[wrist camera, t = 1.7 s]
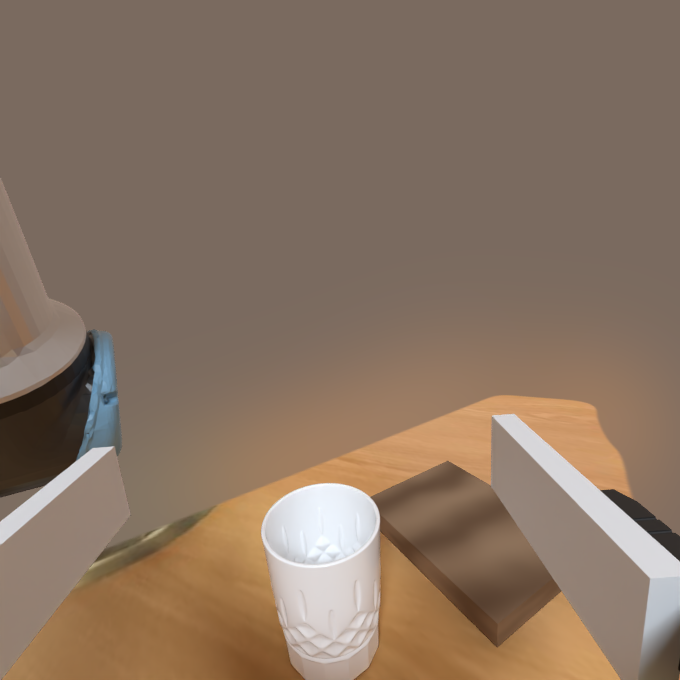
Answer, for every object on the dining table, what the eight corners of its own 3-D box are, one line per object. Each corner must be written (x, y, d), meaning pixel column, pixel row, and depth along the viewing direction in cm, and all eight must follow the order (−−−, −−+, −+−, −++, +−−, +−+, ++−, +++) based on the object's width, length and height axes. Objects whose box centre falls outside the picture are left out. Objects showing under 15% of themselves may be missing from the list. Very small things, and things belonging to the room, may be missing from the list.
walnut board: (365, 516, 39) (364, 499, 39) (448, 475, 45) (447, 460, 44) (497, 647, 26) (497, 623, 25) (591, 564, 31) (592, 544, 31)
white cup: (269, 610, 30) (253, 501, 27) (360, 575, 32) (352, 472, 30) (293, 723, 22) (273, 587, 20) (408, 665, 25) (402, 539, 23)
